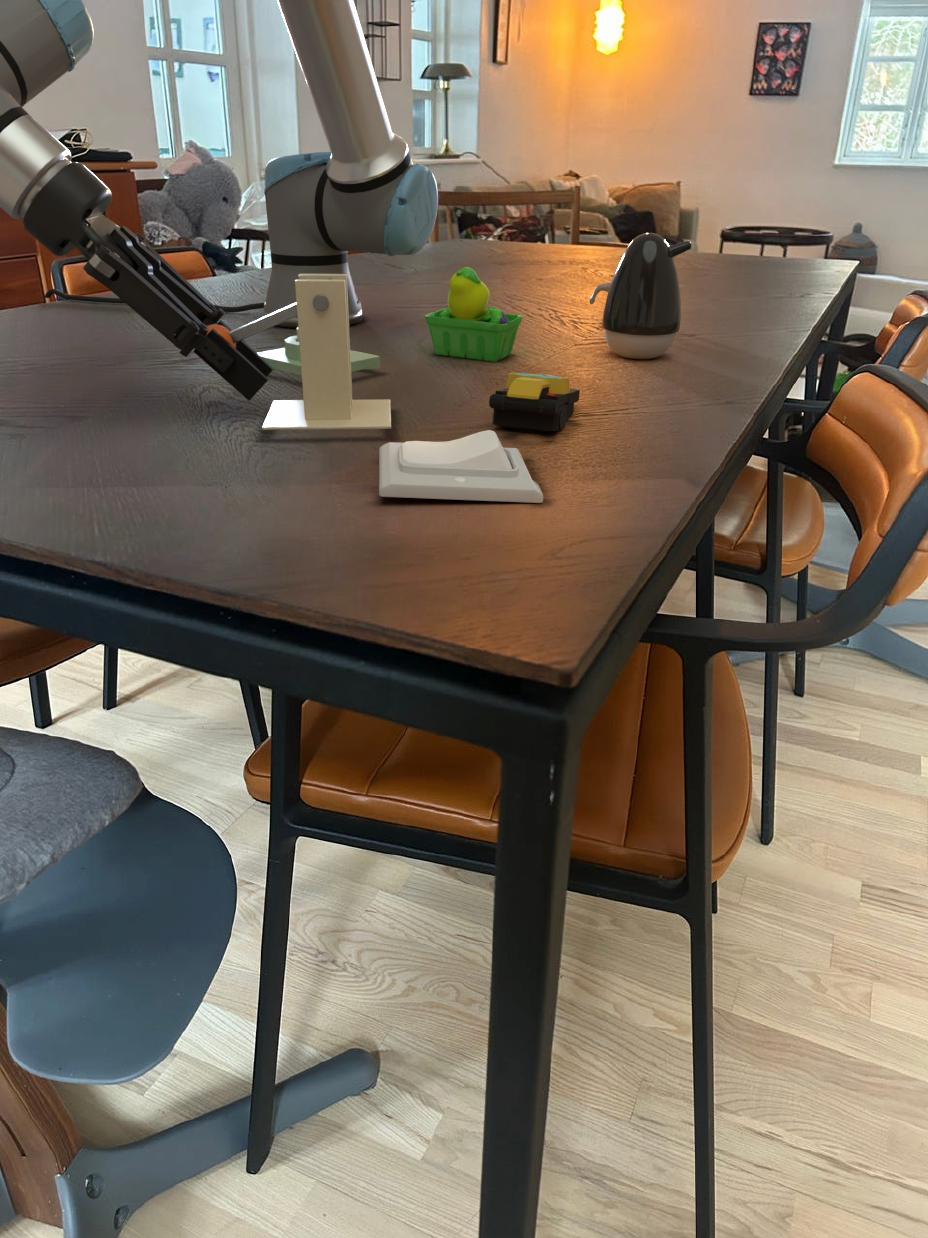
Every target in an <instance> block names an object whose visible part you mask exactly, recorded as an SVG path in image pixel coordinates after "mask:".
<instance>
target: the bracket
mask: <svg viewBox="0 0 928 1238" xmlns="http://www.w3.org/2000/svg"><path fill="white" fill-rule="evenodd" d="M330 278H332V280H327V279H330ZM295 289H296V302H297V316H298V330H299V344H300V358H301V371H302V376H301V382H302V384H301V385H302V395H303V396H302V399H280V400H278V399H273V400H272V402H271V405H270V407H269V410H268V413H267V415H266V417H265V419H264V422H263V424H262V426H261V430H262V431H272V430H273V431H274V430H276V431H279V430H281V431H285V430H289V431H291V430H384V429H385V430H389V429H392V411H391V399H389V398H388V399H353V381H352V379H353V378H352V372H351V357H350V350H351V338H350V325H349V314H348V292H347V274H299V279H296V280H295Z"/></svg>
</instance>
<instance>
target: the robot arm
mask: <svg viewBox="0 0 928 1238" xmlns="http://www.w3.org/2000/svg"><path fill="white" fill-rule="evenodd" d="M276 1H277V4H278V6H279V9H280V12H281V16H282V18H283V21H284V23H285V26H286V28H287V32H288V34H289V37H290V41H291V44H292V46H293V49H294V52H295V54H296V58H297V60H298V63H299V66H300V68H301V71H302V74H303V77H304V80H305V81H306V82H305V83H306V85H307V88H308V91H309V94H310V96H311V101H312V103H313V106H314V109H315V111H316V114H317V117H318V119H319V122H320V125H321V128H322V130H323V133H324V136H325V139H326V142H327V144H328V148H329V150H330V151H318V152H308V153H298V154H292V155H291V154H290V155H284V156H279V157H275V158H272V159H271V160H269V161H268V162H267V164H266V165H265V168H264V190H263V193H264V194H263V195H264V200H265V209H266V210H265V211H266V220H267V232H268V241H269V251H270V260H271V262H270V263H271V271H270V275H269V280H268V286H267V291H266V297H265V301H264V302H258V303H249V304H245V305H239V306H224V305H218V304H213V303H211V302H210V301H209V300H208V299H207V298H206V297H205V296H204V295H203V294H201V292H199V290H197V288H195V286H194V285H192V284H191V283H190V282H189V281H188V280H187V279H186V278H185V277H184V276H183V275H181V273H180V272H178V270H176V268H174V267H173V266H172V265H171V264H170V263H169V262H168V261H167V260H166V259H165V258H163V257H162V256H161V255H160V253H158V252H157V251H156V250H155V248H154V247H153V246H152V245H151V244H150V243H149V242H148V240H146V238H145V236H144V235H143V234H140V233H138V232H135V233H134V232H133V231H132V230H130V229H129V228H128V227H127V226H125V225H122V226H119V225H117V224H116V223H115V222H114V221H112V220H111V219H109V218H108V217H107V215H106V210H107V209H109V207H110V205H111V203H112V200H113V194H112V191H111V189H110V188H109V187H108V186H107V185H106V184H105V183H104V182H103V181H102V180H100V179H99V178H98V176H96V175H95V174H94V172H92V171H91V170H90V169H89V168H88V167H87V166H85V165H84V163H82V162H78V161H73V162H72V158H73V157H72V153H71V151H70V150H69V149H68V148H67V147H66V146H65V145H64V144H63V143H62V142H61V141H59V139H57V138H56V137H55V136H54V135H53V134H52V133H50V131H49V130H48V129H47V128H45V127H44V125H42V124H41V123H40V122H39V121H38V120H37V119H36V118H34V117H33V116H32V115H31V114H30V113H28V111H26V109H24V108H23V107H24V106H25V105H26V104H28V103H29V102H30V101H32V100H33V99H34V98H36V97H37V96H38V95H39V94H40V93H42V92H43V91H44V90H46V89H47V88H48V87H50V86H51V85H52V84H53V83H55V82H56V81H58V80H59V79H60V78H62V77H63V76H64V75H65V74H66V73H70V72H72V71H73V70H74V69H75V66H76V65H77V64H78V63H79V62H80V61H81V60H82V59H83V58H84V57H85V56H86V55H87V54H88V53H89V52H90V51H91V49H92V47H93V44H94V38H95V31H94V24H93V20H92V17H91V14H90V12H89V10H88V9H87V6H86V5H85V4H84V1H83V0H0V208H1V209H2V210H3V211H4V212H5V213H6V214H8V215H9V217H11V218H12V219H14V220H15V219H16V220H22V219H23V220H22V224H23V227H24V231H26V232H27V233H28V234H29V235H31V236H32V237H33V238H34V239H35V240H37V242H39V243H40V244H41V245H42V246H43V247H45V248H46V249H47V250H48V251H50V253H51V254H52V255H54V256H57V257H63V256H66V255H68V254H69V253H71V252H72V251H73V250H74V249H75V248H76V249H77V250H78V251H79V252H80V253H81V255H82V256H83V257H84V258H85V259H87V260H88V261H87V262H86V263H85V265H84V266H82V269H83V270H84V272H85V273H86V274H87V275H88V276H90V277H91V278H93V279H94V280H96V281H97V282H99V283H100V284H101V285H103V286H104V287H105V288H107V289H108V290H109V291H110V292H112V293H113V294H114V295H115V296H117V297H105V296H104V297H103V296H90V295H78V294H69V293H65V292H63V291H61V290H59V289H57V288H49V289H48V291H46V293H45V294H44V296H43V298H44V299H50V298H51V297H52V295H56V296H58V297H60V298H61V299H64V300H69V301H70V300H71V301H79V302H90V303H91V302H92V303H102V304H103V303H105V304H124V305H127V306H128V307H129V308H130V309H131V310H133V311H134V312H135V313H136V314H138V316H140V318H142V319H143V320H144V321H146V322H147V323H148V324H149V325H150V326H151V327H152V328H153V329H155V330H156V331H157V332H159V333H160V334H161V335H162V336H163V337H164V338H166V339H167V341H169V342H170V343H171V344H173V346H174V347H175V348H177V349H179V350H180V351H179V354H180V355H182V356H183V357H185V358H187V357H188V356H189V355H190V354H191V352H193V353H194V354H195V355H196V356H197V357H198V358H200V359H201V360H202V361H203V362H204V363H206V364H207V366H208V367H210V368H211V369H212V370H213V371H214V372H216V374H217V375H219V376H220V377H221V378H222V379H223V380H225V381H226V382H227V383H228V384H229V385H230V386H231V387H232V388H233V389H234V390H236V391H237V392H238V393H239V395H241V396H242V397H244V398H245V399H246V400H247V401H248V402H250V401H251V400H252V399H253V398H254V397H255V395H256V394H257V393H258V392H259V391H260V390H261V389H262V388H263V387H264V386H265V384H267V383H268V381H269V377H268V376H269V375H270V374H271V373H272V372H273V371H274V370H273V369H274V368H273V367H272V366H270V365H269V364H268V363H267V362H266V361H265V360H264V359H263V358H262V357H261V356H260V355H258V354H257V353H258V352H257V351H255V350H254V349H253V348H252V347H251V346H250V345H249V344H248V343H247V342H246V341H244V339H243V340H241V341H239V342H236V349H235V348H234V347H233V346H232V345H231V344H230V343H229V342H228V341H227V340H226V339H224V338H223V337H222V336H221V335H220V334H219V333H218V332H217V331H216V330H215V329H212V330H211V331H210V332H209V330H208V328H207V326H208V325H211V324H218V325H222V326H224V327H226V328H227V329H228V330H229V331H232V330H233V329H232V328H231V327H229V326H228V325H227V323H225V322H224V321H223V320H221V319H222V318H223V316H224V315H225V314H226V313H241V312H247V311H253V310H259V309H262V311H263V317H264V316H267V315H269V314H271V313H274V312H276V311H278V310H280V309H283V308H285V307H287V306H290V305H292V304H294V303H296V289H295V280H296V279H299V274H347V292H348V314H349V326H350V325H355V324H358V323H360V322H361V321H362V320H363V309H362V304H361V301H360V300H358V294H357V290H356V287H355V284H354V281H353V278H352V275H351V272H350V267H349V256H348V255H349V254H348V253H349V252H353V253H365V254H366V253H367V254H378V255H380V254H381V255H387V256H388V257H395V256H413V255H415V254H417V253H418V252H420V251H421V250H422V249H423V248H424V247H425V246H426V244H427V243H428V241H429V240H430V238H431V235H432V234H433V230H434V228H435V225H436V219H437V216H438V208H439V192H438V184H437V181H436V177H435V175H434V173H433V171H432V170H431V169H430V168H428V167H427V166H426V165H423V164H422V163H415V164H414V163H413V160H412V156H411V153H410V149H409V146H408V143H407V141H406V140H405V138H403V137H402V136H400V135H398V134H396V133H394V132H393V131H392V128H391V124H390V121H389V117H388V113H387V110H386V106H385V103H384V100H383V97H382V94H381V91H380V90H381V89H380V87H379V83H378V79H377V76H376V73H375V69H374V66H373V62H372V59H371V56H370V53H369V49H368V46H367V41H366V39H365V35H364V32H363V28H362V25H361V22H360V18H359V15H358V11H357V8H356V5H355V1H354V0H276ZM276 326H277V327H283V328H284V327H285V328H295V329H297V328H298V316H296V317H294V318H291V319H289V320H287V321H285V322H282V323H280V324H278V325H276ZM208 332H209V333H208ZM207 333H208V334H207Z"/></svg>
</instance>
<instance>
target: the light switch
mask: <svg viewBox="0 0 928 1238" xmlns="http://www.w3.org/2000/svg"><path fill="white" fill-rule="evenodd" d="M378 463H379V464H378V495H379V496H380V497H384V498H407V499H408V498H409V499H412V498H413V499H430V500H431V499H433V500H434V499H435V500H458V501H459V500H460V501H462V500H463V501H484V502H506V503H508V502H509V503H514V502H515V503H533V504H534V503H535V504H541V503H543V502H544V493H543V492H542V489H541V487H540V485H539V483H538V481H537V480H536V479H533V478H532V476H531V474H530V472H529V470H528V467H527V465H526V463H525V461H524V458H523V456H522V455H521V452H520V450H519V448H517V447H503V445H502V443H501V440H500V438H499V437H498V434H497V433H496V432H495V431H494V430H491V429H487V430H482V431H479V432H475V433H472V434H469V435H466V436H463V437H460V438H457V439H452V440H448V441H426V440H425V441H423V440H409V441H404V442H394V441H393V442H392V441H390V442H387V443H384V444H382V445H381V446H380V447H379V449H378Z"/></svg>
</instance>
